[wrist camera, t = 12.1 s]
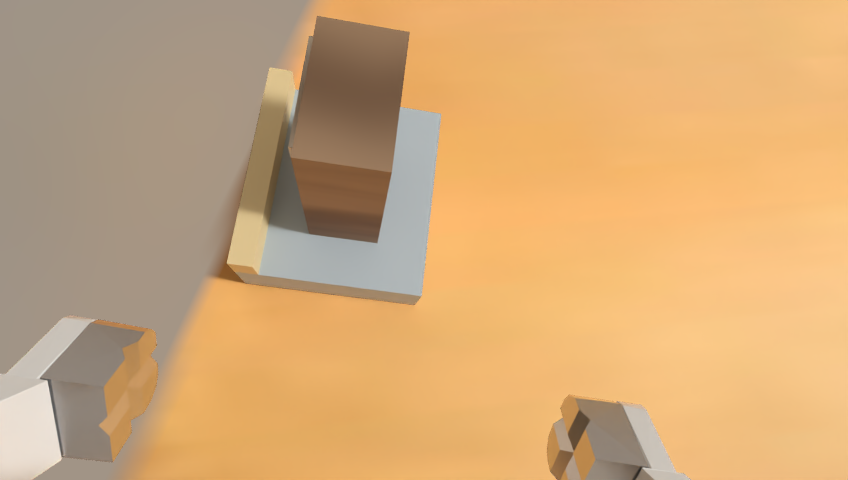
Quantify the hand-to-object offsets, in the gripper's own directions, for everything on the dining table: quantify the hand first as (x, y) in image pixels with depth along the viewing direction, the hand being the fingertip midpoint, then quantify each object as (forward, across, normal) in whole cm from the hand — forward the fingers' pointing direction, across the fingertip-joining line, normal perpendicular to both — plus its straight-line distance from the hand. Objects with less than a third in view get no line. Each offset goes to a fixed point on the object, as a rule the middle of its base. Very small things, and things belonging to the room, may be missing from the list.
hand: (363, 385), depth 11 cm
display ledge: (+16, +2, +4) cm, 17 cm away
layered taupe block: (+14, +2, +2) cm, 15 cm away
